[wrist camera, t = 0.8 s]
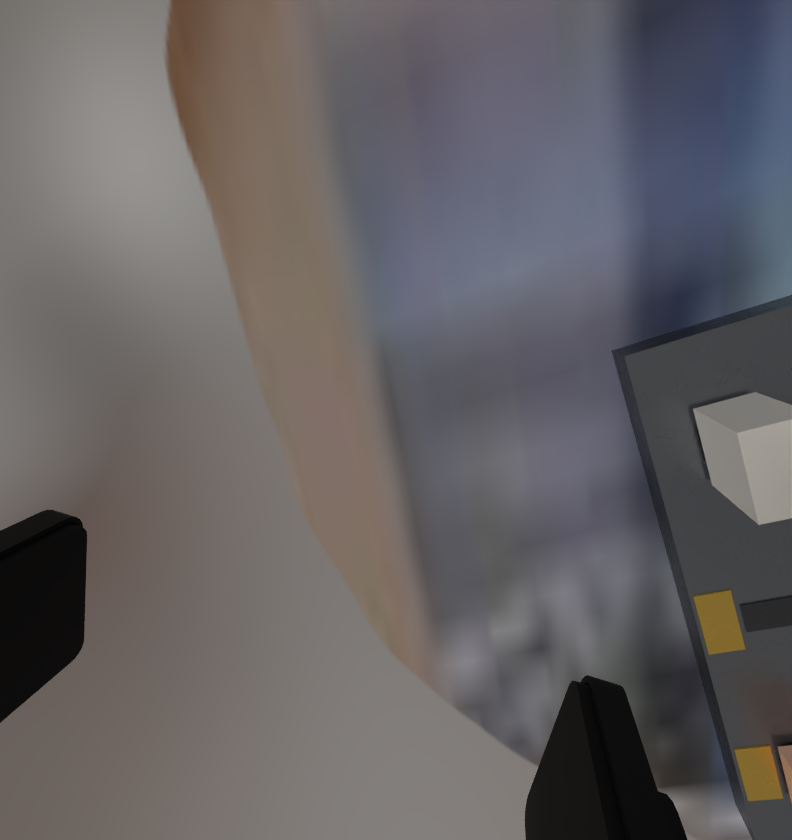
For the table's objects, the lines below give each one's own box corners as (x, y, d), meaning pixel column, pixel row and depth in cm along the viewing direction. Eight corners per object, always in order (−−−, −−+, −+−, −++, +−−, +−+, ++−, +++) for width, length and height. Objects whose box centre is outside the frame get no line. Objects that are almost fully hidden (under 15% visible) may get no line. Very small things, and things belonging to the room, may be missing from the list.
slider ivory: (755, 392, 25) (815, 413, 21) (773, 471, 26) (835, 509, 21) (692, 408, 26) (737, 433, 21) (712, 485, 27) (758, 524, 22)
